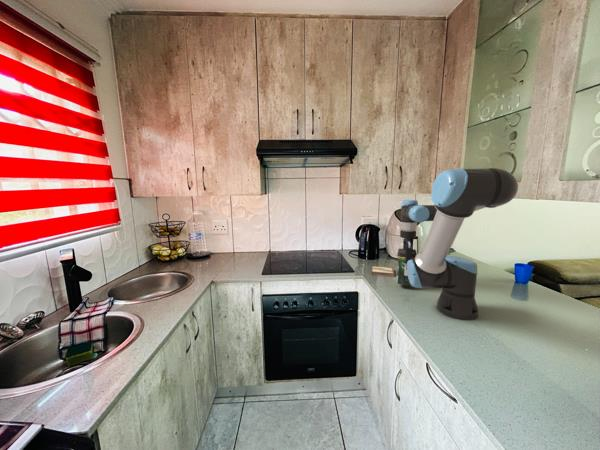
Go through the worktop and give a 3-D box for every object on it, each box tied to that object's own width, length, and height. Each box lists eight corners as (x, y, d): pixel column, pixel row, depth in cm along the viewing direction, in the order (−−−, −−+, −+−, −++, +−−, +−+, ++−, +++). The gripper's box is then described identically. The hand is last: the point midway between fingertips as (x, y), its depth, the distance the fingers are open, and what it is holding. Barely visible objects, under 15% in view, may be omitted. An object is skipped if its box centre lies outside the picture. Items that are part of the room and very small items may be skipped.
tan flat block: (394, 276, 148) (394, 273, 147) (371, 274, 151) (371, 271, 151) (392, 270, 158) (392, 267, 158) (371, 268, 162) (371, 266, 161)
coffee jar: (415, 281, 134) (417, 247, 132) (416, 287, 127) (418, 251, 124) (396, 279, 138) (397, 246, 135) (395, 284, 130) (397, 250, 128)
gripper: (398, 226, 139) (396, 266, 142) (402, 233, 119) (400, 279, 123) (413, 227, 137) (411, 267, 140) (419, 233, 117) (417, 280, 121)
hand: (406, 272), depth 131 cm, fingers closed on coffee jar, 8 cm apart
